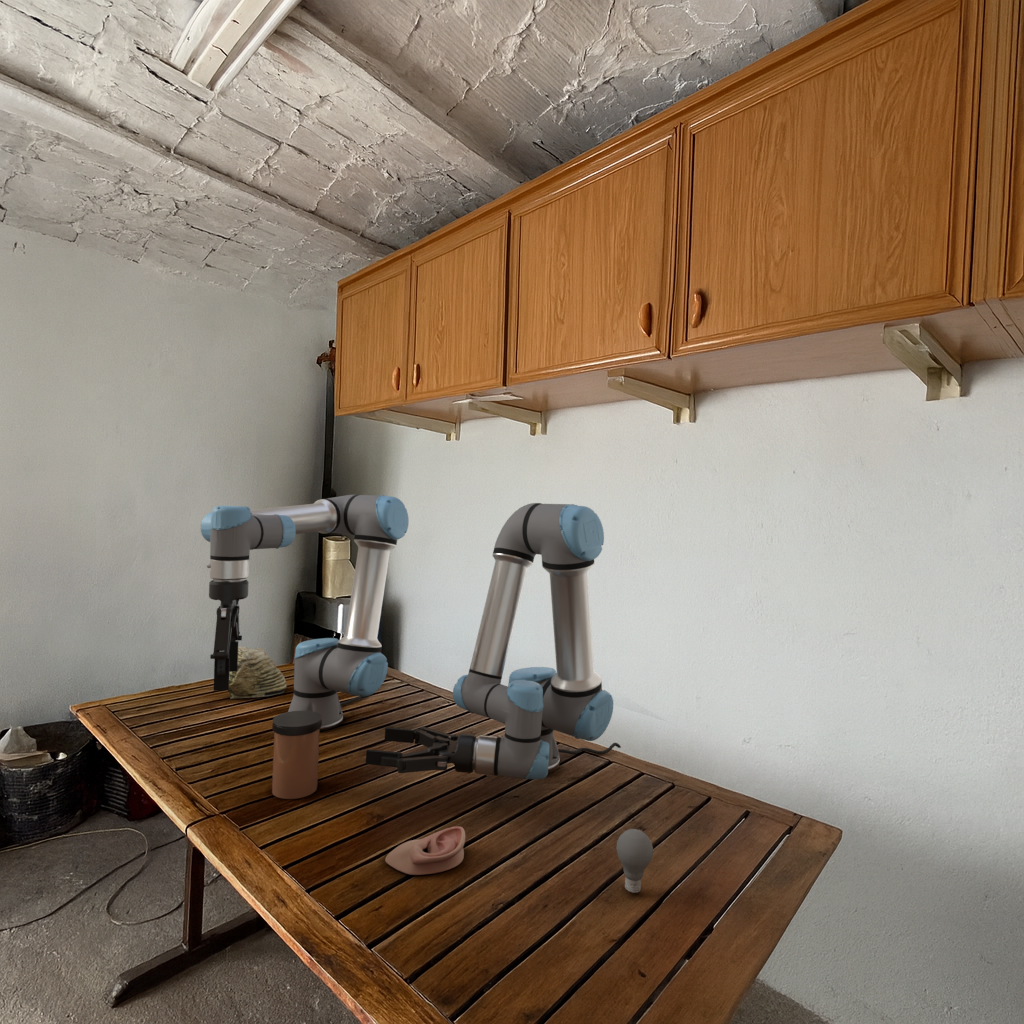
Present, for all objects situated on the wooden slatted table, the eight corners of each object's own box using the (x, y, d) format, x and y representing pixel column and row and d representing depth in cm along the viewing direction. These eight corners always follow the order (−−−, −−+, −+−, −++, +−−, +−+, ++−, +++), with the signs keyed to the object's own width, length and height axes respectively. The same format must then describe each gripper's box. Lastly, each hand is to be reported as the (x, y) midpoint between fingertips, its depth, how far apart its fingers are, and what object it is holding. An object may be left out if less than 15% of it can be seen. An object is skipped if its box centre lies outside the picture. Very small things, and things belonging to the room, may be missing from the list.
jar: (283, 803, 130) (286, 731, 130) (264, 787, 137) (267, 719, 137) (325, 790, 137) (327, 721, 136) (304, 775, 143) (307, 710, 143)
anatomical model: (378, 846, 108) (403, 814, 120) (377, 869, 108) (402, 835, 120) (453, 858, 106) (471, 824, 117) (452, 882, 106) (470, 846, 117)
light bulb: (610, 879, 108) (613, 822, 108) (644, 879, 109) (647, 822, 109) (619, 902, 102) (622, 840, 102) (655, 901, 103) (658, 840, 103)
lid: (285, 739, 129) (285, 730, 129) (264, 725, 137) (264, 716, 137) (330, 728, 137) (330, 719, 136) (308, 715, 144) (308, 707, 144)
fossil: (218, 695, 195) (220, 647, 195) (278, 685, 208) (279, 640, 207) (228, 703, 189) (230, 653, 188) (289, 692, 201) (290, 645, 201)
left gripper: (218, 571, 143) (216, 664, 144) (198, 588, 119) (195, 700, 120) (254, 572, 145) (251, 663, 146) (241, 588, 122) (238, 697, 122)
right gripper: (465, 798, 120) (356, 787, 122) (481, 750, 145) (391, 741, 147) (467, 758, 120) (358, 748, 122) (483, 717, 145) (393, 709, 147)
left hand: (226, 680), depth 133 cm, fingers open, 13 cm apart
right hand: (376, 744), depth 134 cm, fingers open, 13 cm apart
